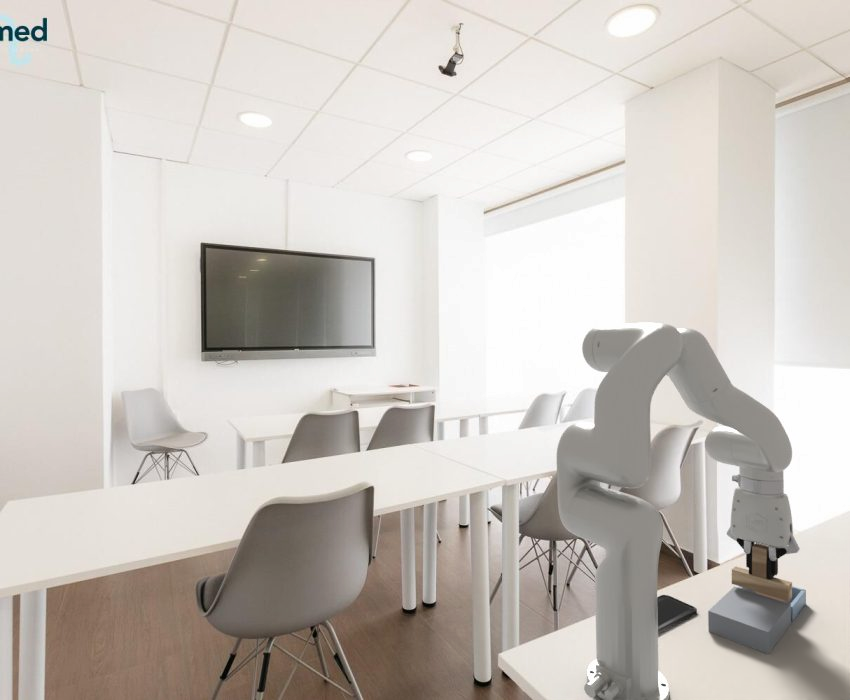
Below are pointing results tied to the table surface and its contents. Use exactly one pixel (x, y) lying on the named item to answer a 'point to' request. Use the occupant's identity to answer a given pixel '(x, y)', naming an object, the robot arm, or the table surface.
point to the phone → (672, 612)
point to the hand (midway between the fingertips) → (761, 573)
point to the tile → (772, 597)
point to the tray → (793, 600)
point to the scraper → (761, 576)
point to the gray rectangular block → (750, 619)
